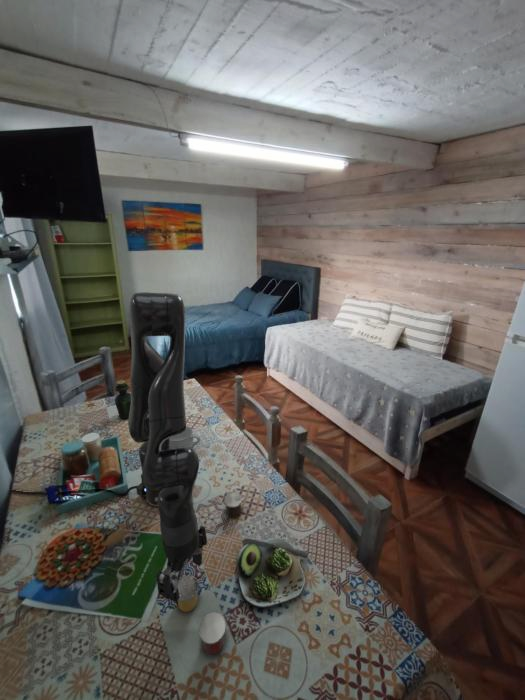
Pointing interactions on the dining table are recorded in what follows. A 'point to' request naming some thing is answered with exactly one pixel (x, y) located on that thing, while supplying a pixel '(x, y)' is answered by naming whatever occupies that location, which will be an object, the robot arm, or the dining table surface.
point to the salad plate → (269, 572)
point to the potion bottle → (123, 399)
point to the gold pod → (187, 593)
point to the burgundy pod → (212, 632)
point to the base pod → (233, 504)
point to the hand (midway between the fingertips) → (186, 580)
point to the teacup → (184, 439)
